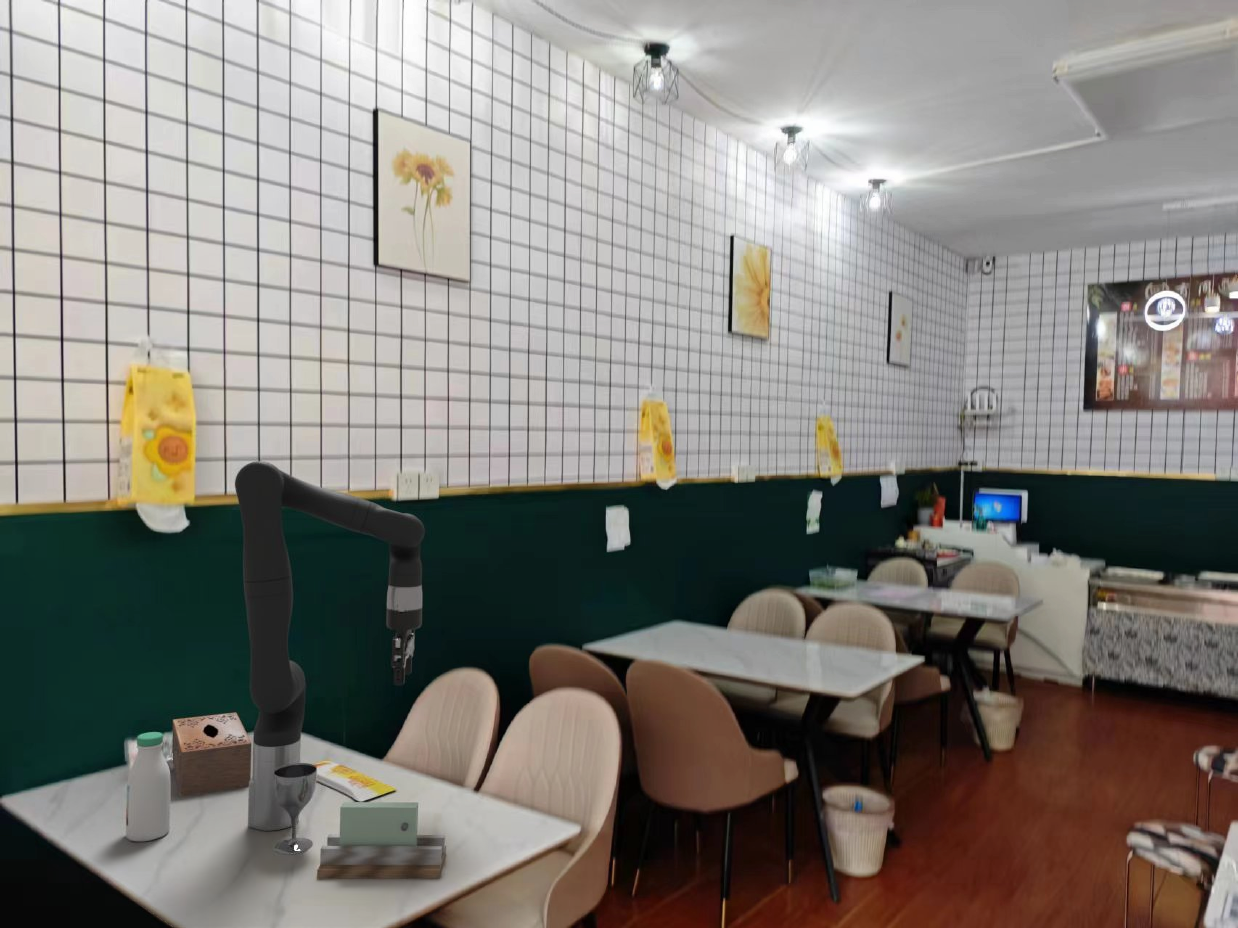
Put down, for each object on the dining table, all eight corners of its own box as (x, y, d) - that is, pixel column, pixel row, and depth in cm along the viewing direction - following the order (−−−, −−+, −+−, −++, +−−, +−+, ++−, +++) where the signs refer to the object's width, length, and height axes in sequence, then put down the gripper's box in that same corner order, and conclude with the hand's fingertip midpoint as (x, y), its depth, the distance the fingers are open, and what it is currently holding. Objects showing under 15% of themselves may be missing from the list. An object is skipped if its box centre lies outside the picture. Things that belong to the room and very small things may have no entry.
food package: (397, 784, 203) (361, 797, 195) (397, 794, 203) (360, 807, 195) (327, 755, 219) (291, 766, 212) (327, 764, 220) (290, 775, 212)
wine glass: (289, 859, 169) (291, 780, 168) (263, 847, 173) (265, 771, 172) (323, 843, 175) (325, 768, 175) (297, 833, 180) (299, 760, 179)
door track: (316, 878, 162) (317, 853, 161) (331, 852, 172) (331, 829, 171) (438, 878, 163) (439, 854, 163) (445, 853, 173) (446, 830, 173)
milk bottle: (178, 829, 179) (180, 731, 179) (146, 845, 172) (149, 743, 172) (148, 823, 182) (151, 726, 182) (116, 838, 175) (118, 737, 174)
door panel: (337, 862, 165) (339, 808, 165) (342, 854, 168) (343, 801, 168) (414, 862, 166) (415, 809, 166) (416, 854, 169) (418, 802, 169)
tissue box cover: (250, 786, 203) (251, 743, 203) (180, 797, 196) (181, 752, 196) (235, 751, 226) (236, 712, 225) (171, 759, 218) (172, 719, 218)
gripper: (393, 599, 200) (391, 670, 200) (380, 611, 186) (378, 688, 186) (427, 600, 201) (424, 671, 201) (416, 612, 186) (414, 688, 187)
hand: (402, 679), depth 194 cm, fingers open, 8 cm apart
